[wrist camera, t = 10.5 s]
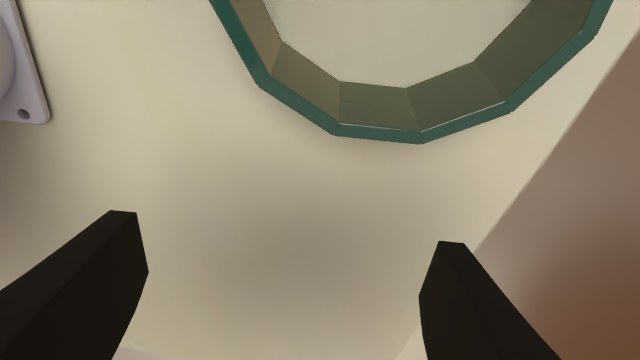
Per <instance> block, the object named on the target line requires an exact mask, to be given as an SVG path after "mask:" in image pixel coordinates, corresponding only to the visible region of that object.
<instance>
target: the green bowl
mask: <svg viewBox="0 0 640 360" xmlns="http://www.w3.org/2000/svg"><path fill="white" fill-rule="evenodd" d="M209 1H210V3H211V5H212V7H213V9H214V10H215V12H216V14H217V16H218V17H219V19H220V21H221V23H222V24H223V26H224V28H225V30H226V32H227V33H228V35H229V37H230V39H231V40H232V42H233V44H234V46H235V47H236V49H237V51H238V53H239V55H240V56H241V58H242V60H243V62H244V63H245V65H246V67H247V69H248V71H249V72H250V74H251V76H252V78H253V79H254V81H255V83H256V84H257V85H258V86H259V87H260V88H261V89H263V90H264V91H266V92H267V93H269V94H270V95H272V96H273V97H275V98H276V99H278V100H279V101H281V102H282V103H284V104H286V105H287V106H289V107H290V108H292V109H293V110H295V111H296V112H298V113H299V114H301V115H302V116H304V117H305V118H307V119H309V120H310V121H312V122H313V123H315V124H316V125H318V126H319V127H321V128H322V129H324V130H325V131H327V132H328V133H330V134H331V135H335V136H341V137H351V138H360V139H370V140H380V141H390V142H399V143H409V144H420V143H421V144H424V143H427V142H430V141H433V140H436V139H439V138H441V137H444V136H447V135H450V134H453V133H456V132H459V131H461V130H464V129H467V128H470V127H473V126H476V125H479V124H481V123H484V122H487V121H490V120H493V119H496V118H499V117H501V116H504V115H507V114H510V112H513V111H514V110H515V109H516V108H518V107H519V106H520V105H521V104H522V103H523V102H524V101H525V100H526V99H528V98H529V97H530V96H531V95H532V94H533V93H534V92H535V91H536V90H538V89H539V88H540V87H541V86H542V85H543V84H544V83H545V82H546V81H547V80H549V79H550V78H551V77H552V76H553V75H554V74H555V73H556V72H557V71H559V70H560V69H561V68H562V67H563V66H564V65H565V64H566V63H567V62H568V61H570V60H571V59H572V58H573V57H574V56H575V55H576V54H577V53H578V52H580V51H581V50H582V49H583V48H584V47H585V46H586V45H587V44H588V43H590V42H591V41H592V40H593V39H594V36H595V35H597V33H598V31H599V29H600V27H601V25H602V23H603V21H604V19H605V17H606V15H607V13H608V11H609V9H610V6H611V4H612V2H613V0H532V2H531V3H530V4H529V5H528V6H527V7H526V8H525V9H524V10H523V11H522V12H521V13H520V14H519V15H518V16H517V17H516V19H515V20H514V21H513V22H512V23H511V24H510V25H509V26H508V27H507V28H506V29H505V30H504V31H503V32H502V33H501V34H500V35H499V36H498V37H497V38H496V39H495V40H494V41H493V42H492V43H491V44H490V45H489V46H488V47H487V49H486V50H485V51H484V52H483V53H482V54H481V55H480V56H479V57H478V58H477V59H476V60H475V61H474V62H472V63H469V64H467V65H464V66H462V67H459V68H457V69H454V70H451V71H449V72H446V73H444V74H441V75H439V76H436V77H434V78H431V79H428V80H426V81H423V82H421V83H418V84H416V85H413V86H411V87H408V88H397V87H388V86H378V85H369V84H360V83H350V82H341V81H338V80H336V79H335V78H334V77H332V76H331V75H329V74H328V73H327V72H325V71H324V70H322V69H321V68H319V67H318V66H317V65H315V64H314V63H312V62H311V61H310V60H308V59H307V58H305V57H304V56H303V55H301V54H300V53H298V52H297V51H296V50H294V49H293V48H291V47H290V46H288V45H287V44H286V43H284V42H283V41H282V40H281V38H280V36H279V34H278V32H277V30H276V28H275V26H274V24H273V22H272V20H271V18H270V16H269V14H268V12H267V10H266V8H265V6H264V4H263V2H262V0H209Z"/></svg>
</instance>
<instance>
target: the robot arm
mask: <svg viewBox="0 0 640 360" xmlns="http://www.w3.org/2000/svg"><path fill="white" fill-rule="evenodd" d="M23 110H26V111H27V112H28V113H29V115H27V114H26V113H24V111H23ZM49 118H50V112H49V109H48V106H47V103H46V100H45V96H44V93H43V90H42V87H41V83H40V80H39V77H38V74H37V70H36V67H35V64H34V61H33V57H32V54H31V51H30V48H29V44H28V41H27V38H26V35H25V31H24V28H23V25H22V22H21V18H20V15H19V12H18V9H17V5H16V2H15V0H0V121H9V122H19V123H29V124H43V123H45V122H46V121H47V120H49ZM148 273H149V271H148V266H147V261H146V257H145V252H144V247H143V242H142V237H141V233H140V228H139V223H138V218H137V213H135V212H125V211H114V210H110V211H108V212H107V213H106V214H104V215H103V216H101V217H100V218H99V219H97V220H96V221H95V222H93V223H92V224H91V225H89V226H88V227H87V228H86V229H84V230H83V231H82V232H80V233H79V234H78V235H76V236H75V237H74V238H72V239H71V240H70V241H68V242H67V243H66V244H65V245H63V246H62V247H61V248H59V249H58V250H56V251H55V252H54V253H52V254H51V255H50V256H48V257H47V258H46V259H44V260H43V261H42V262H40V263H39V264H38V265H36V266H35V267H33V268H32V269H31V270H29V271H28V272H27V273H25V274H24V275H22V276H21V277H19V278H18V279H16V280H15V281H14V282H12V283H11V284H9V285H8V286H6V287H5V288H3V289H2V290H0V360H112V358H113V356H114V354H115V352H116V350H117V348H118V346H119V344H120V342H121V340H122V338H123V336H124V334H125V332H126V330H127V327H128V325H129V323H130V321H131V319H132V317H133V315H134V313H135V311H136V308H137V305H138V302H139V299H140V297H141V294H142V291H143V288H144V285H145V282H146V279H147V276H148ZM419 306H420V317H421V326H422V335H423V340H424V345H425V349H426V354H427V358H428V360H561V359H560V358H559V356H558V355H557V354H556V353H555V352H554V351H553V350H552V349H551V348H550V347H549V346H548V345H547V343H546V342H545V341H544V340H543V339H542V338H541V337H540V336H539V335H538V333H537V332H536V331H535V330H534V329H533V328H532V327H531V325H530V324H529V323H528V322H527V321H526V320H525V319H524V317H523V316H522V315H521V314H520V313H519V311H518V310H517V309H516V308H515V307H514V305H513V304H512V303H511V302H510V301H509V299H508V298H507V297H506V296H505V294H504V293H503V292H502V291H501V289H500V288H499V287H498V286H497V284H496V283H495V282H494V281H493V279H492V278H491V277H490V276H489V274H488V273H487V272H486V271H485V269H484V268H483V267H482V265H481V264H480V263H479V262H478V260H477V259H476V258H475V257H474V255H473V254H472V253H471V251H470V250H469V249H468V248H467V246H466V245H465V244H464V243H456V242H446V241H439V242H438V244H437V247H436V250H435V253H434V255H433V258H432V261H431V264H430V266H429V269H428V272H427V275H426V277H425V280H424V283H423V285H422V288H421V291H420V294H419Z"/></svg>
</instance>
